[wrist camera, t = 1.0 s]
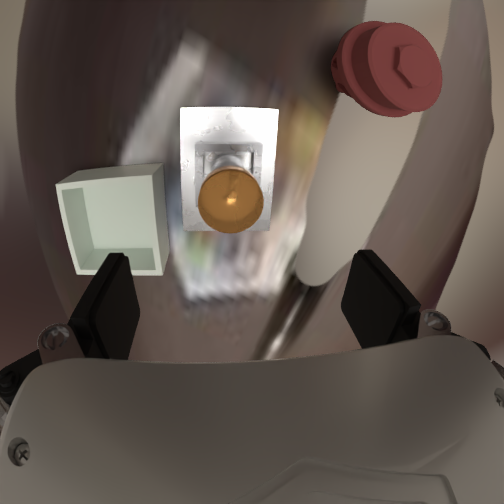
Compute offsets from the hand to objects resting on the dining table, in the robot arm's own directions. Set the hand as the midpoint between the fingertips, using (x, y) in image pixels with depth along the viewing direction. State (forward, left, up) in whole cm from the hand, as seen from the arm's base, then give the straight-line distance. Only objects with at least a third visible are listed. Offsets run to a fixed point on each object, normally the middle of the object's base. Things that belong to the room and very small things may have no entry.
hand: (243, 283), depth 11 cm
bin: (+5, -13, -22) cm, 26 cm away
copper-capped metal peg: (0, 0, -20) cm, 20 cm away
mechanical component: (-13, +14, -22) cm, 29 cm away
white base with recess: (0, 0, -22) cm, 22 cm away
